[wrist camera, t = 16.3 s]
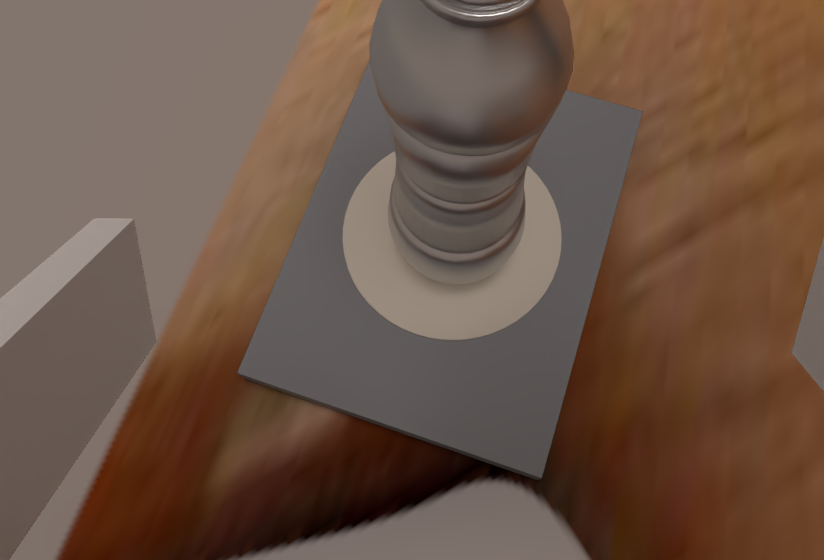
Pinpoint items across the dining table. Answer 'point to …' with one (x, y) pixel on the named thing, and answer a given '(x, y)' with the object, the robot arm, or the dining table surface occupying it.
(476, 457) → the board
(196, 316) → the dining table surface
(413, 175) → the plastic bottle
